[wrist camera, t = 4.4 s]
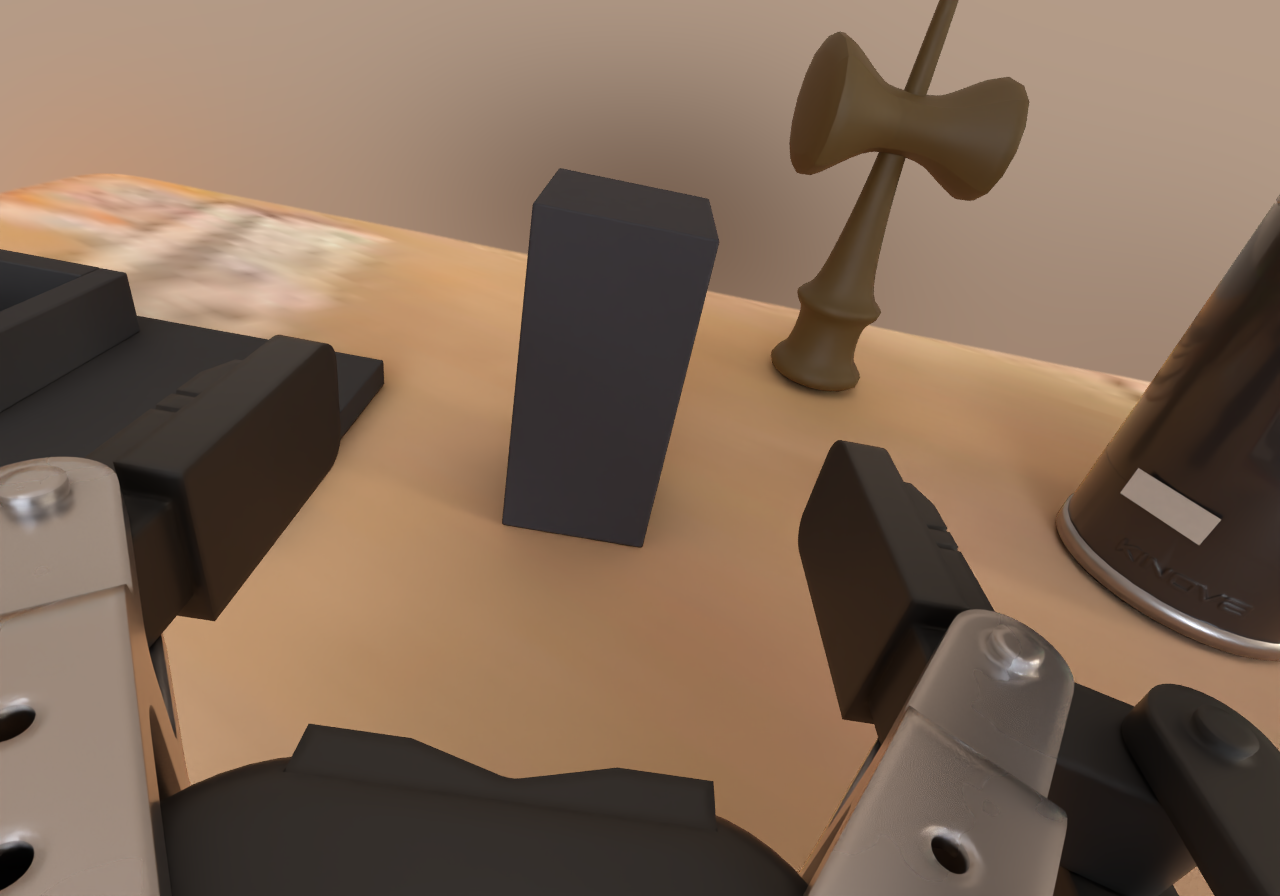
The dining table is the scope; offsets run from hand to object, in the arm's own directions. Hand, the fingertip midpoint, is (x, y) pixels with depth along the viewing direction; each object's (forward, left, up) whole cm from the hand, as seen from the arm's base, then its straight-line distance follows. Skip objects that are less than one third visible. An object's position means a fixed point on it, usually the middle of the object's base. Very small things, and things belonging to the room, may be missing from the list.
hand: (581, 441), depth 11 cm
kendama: (-27, -10, -10) cm, 30 cm away
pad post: (-8, -8, -10) cm, 15 cm away
